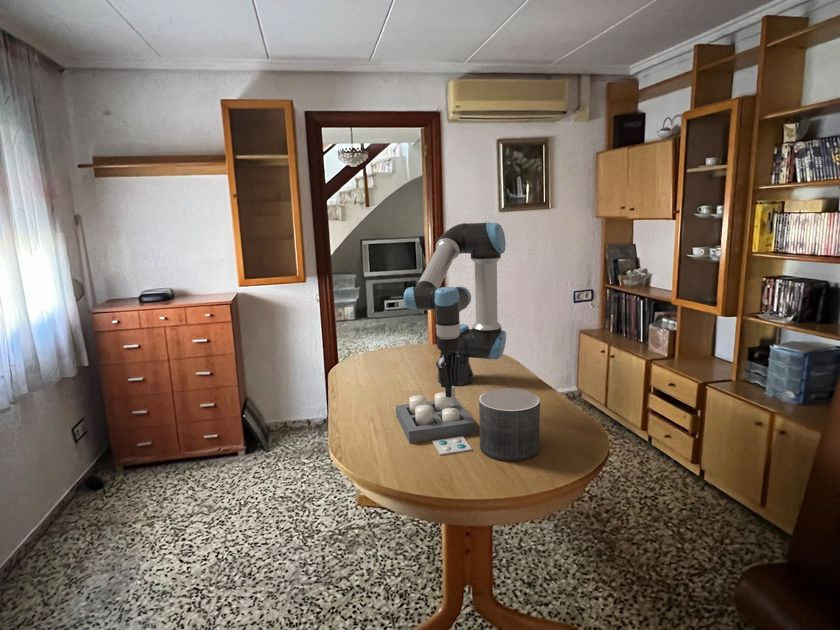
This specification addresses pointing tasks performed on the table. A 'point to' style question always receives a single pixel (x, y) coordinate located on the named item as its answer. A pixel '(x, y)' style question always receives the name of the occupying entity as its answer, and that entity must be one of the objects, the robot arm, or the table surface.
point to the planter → (509, 424)
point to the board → (435, 424)
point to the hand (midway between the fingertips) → (450, 404)
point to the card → (451, 445)
